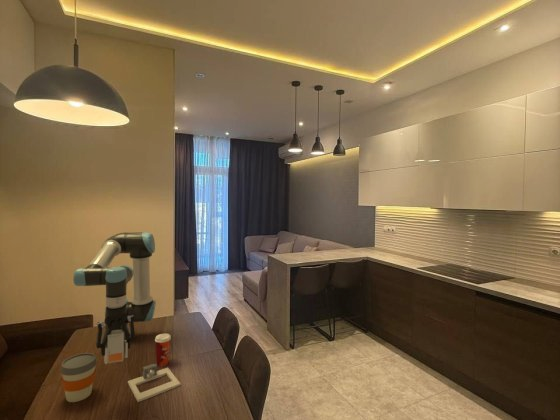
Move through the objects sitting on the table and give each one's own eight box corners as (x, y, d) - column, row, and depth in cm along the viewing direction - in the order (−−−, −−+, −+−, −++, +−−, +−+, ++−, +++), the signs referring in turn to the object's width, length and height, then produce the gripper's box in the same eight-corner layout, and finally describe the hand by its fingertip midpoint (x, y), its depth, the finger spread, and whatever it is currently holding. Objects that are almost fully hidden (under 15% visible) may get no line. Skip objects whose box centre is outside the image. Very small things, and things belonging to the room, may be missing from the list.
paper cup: (165, 368, 147) (165, 340, 147) (151, 366, 149) (151, 338, 148) (173, 360, 155) (174, 333, 154) (160, 358, 157) (160, 332, 156)
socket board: (127, 383, 135) (127, 371, 135) (167, 369, 147) (167, 358, 146) (137, 402, 123) (137, 389, 123) (180, 385, 134) (180, 373, 134)
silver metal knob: (146, 373, 139) (146, 367, 139) (152, 371, 141) (152, 365, 141) (149, 377, 136) (149, 372, 136) (155, 375, 137) (155, 370, 137)
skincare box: (106, 364, 121) (106, 335, 120) (108, 358, 125) (108, 330, 124) (123, 361, 123) (123, 333, 123) (124, 356, 127) (124, 328, 127)
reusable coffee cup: (91, 402, 122) (91, 366, 122) (55, 407, 119) (55, 370, 118) (100, 383, 134) (100, 351, 134) (67, 388, 131) (67, 354, 130)
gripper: (89, 313, 114) (89, 371, 115) (144, 303, 127) (143, 355, 128) (86, 307, 120) (86, 363, 121) (139, 298, 132) (138, 348, 133)
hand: (115, 359), depth 124 cm, fingers closed on skincare box, 7 cm apart
